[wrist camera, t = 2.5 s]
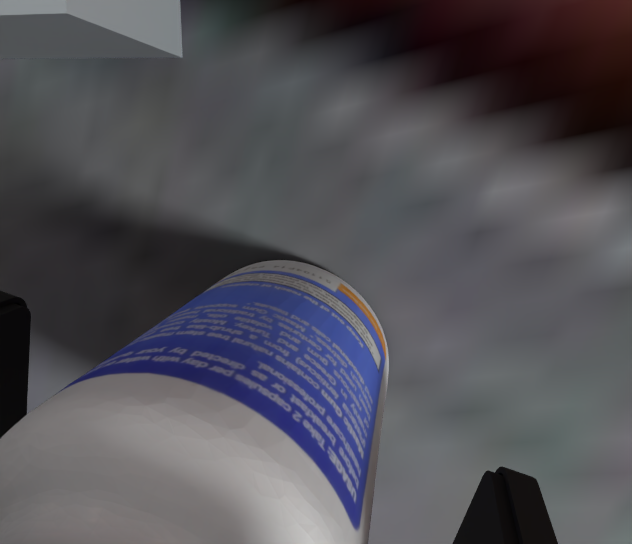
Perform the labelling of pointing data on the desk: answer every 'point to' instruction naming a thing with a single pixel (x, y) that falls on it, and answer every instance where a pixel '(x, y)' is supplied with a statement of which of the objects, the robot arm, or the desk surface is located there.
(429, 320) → the desk surface
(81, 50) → the grey block
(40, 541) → the pill bottle
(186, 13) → the desk surface
